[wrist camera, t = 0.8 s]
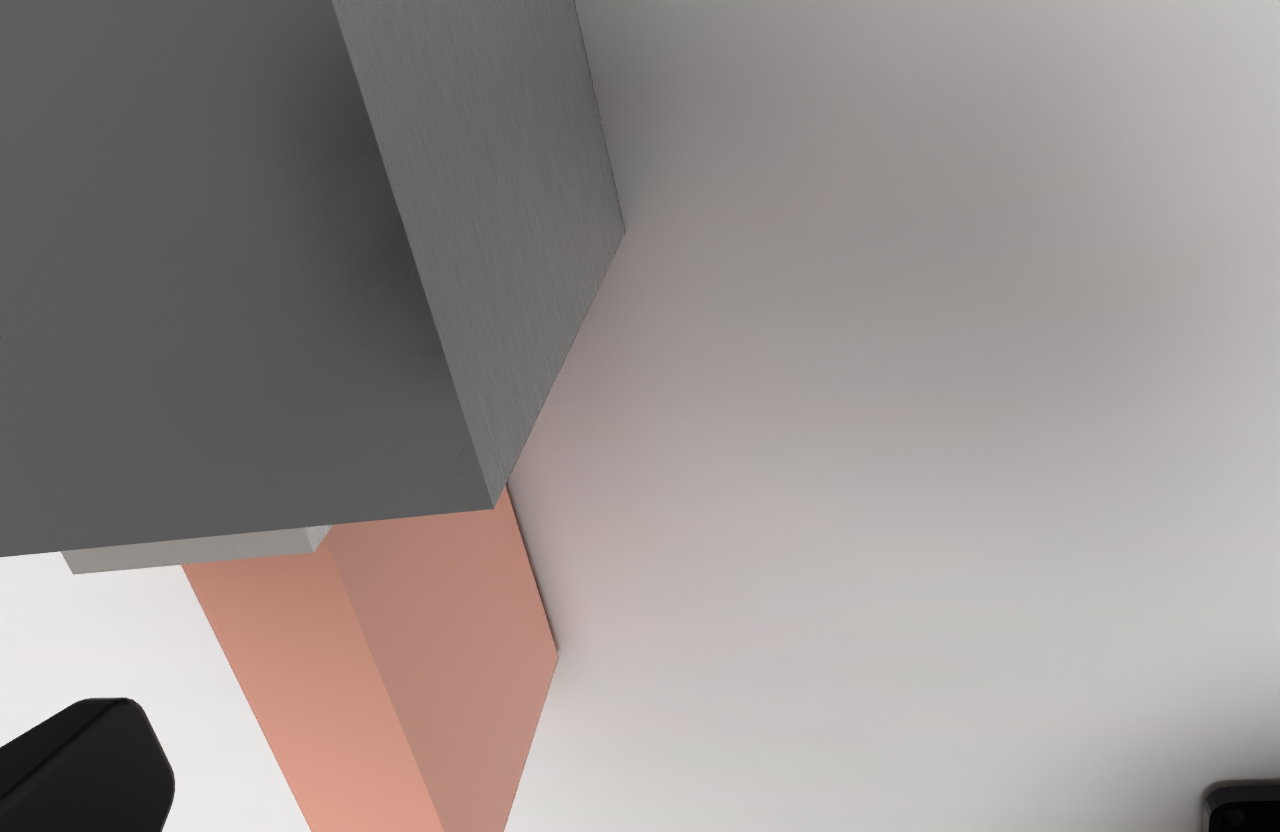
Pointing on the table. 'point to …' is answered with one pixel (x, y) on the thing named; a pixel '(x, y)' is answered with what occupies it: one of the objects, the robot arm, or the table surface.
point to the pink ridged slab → (392, 667)
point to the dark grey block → (283, 264)
